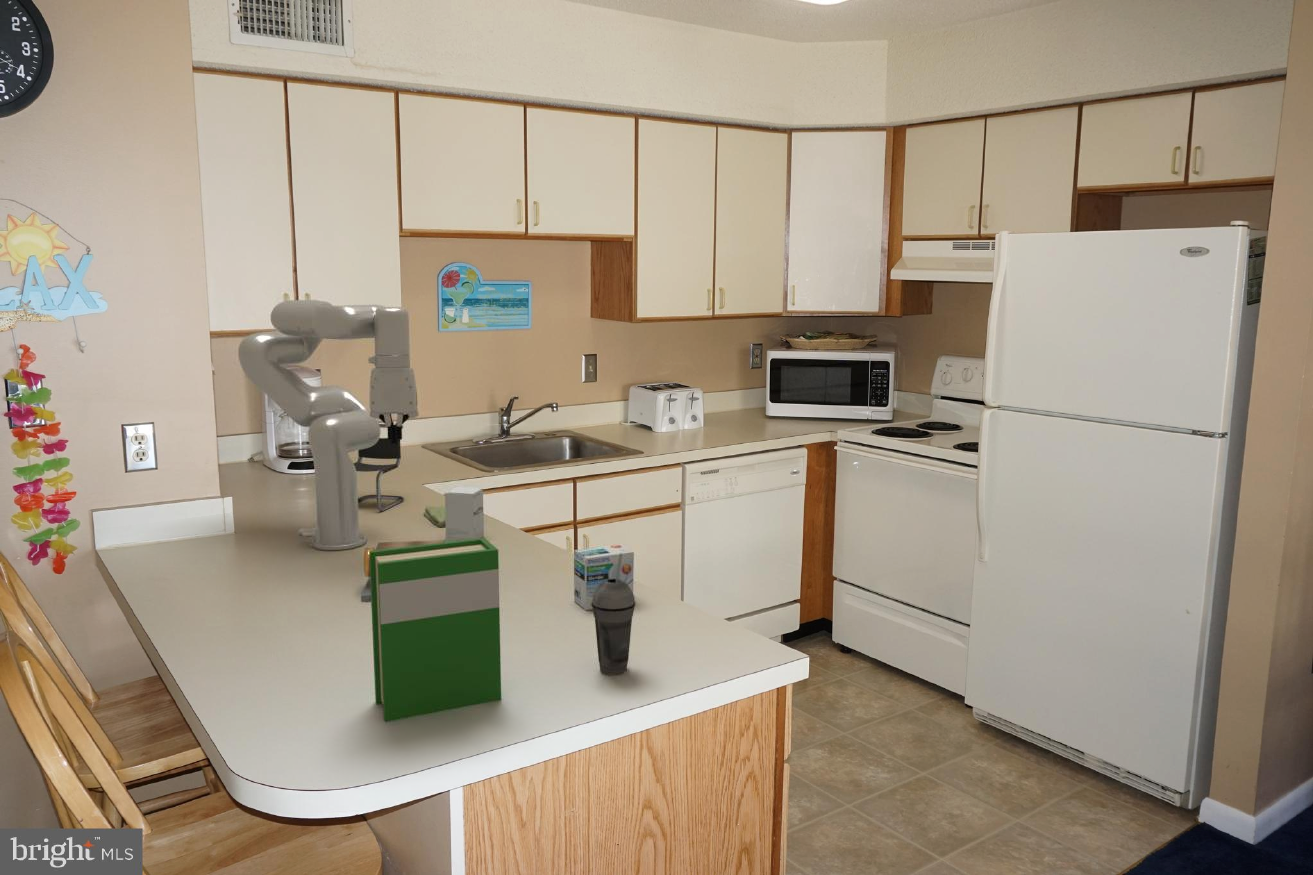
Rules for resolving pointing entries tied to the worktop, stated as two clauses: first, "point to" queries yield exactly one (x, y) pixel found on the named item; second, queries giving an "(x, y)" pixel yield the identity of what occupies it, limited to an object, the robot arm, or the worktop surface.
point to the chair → (380, 466)
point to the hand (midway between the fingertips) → (395, 442)
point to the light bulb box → (599, 570)
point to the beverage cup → (613, 623)
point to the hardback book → (435, 627)
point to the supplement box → (464, 514)
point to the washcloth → (436, 515)
